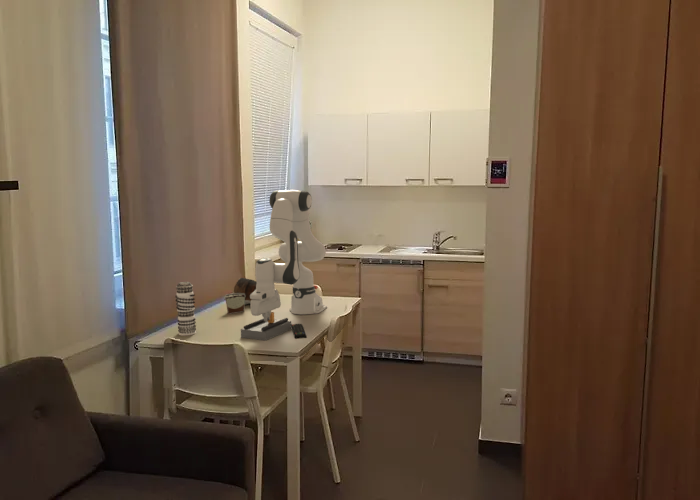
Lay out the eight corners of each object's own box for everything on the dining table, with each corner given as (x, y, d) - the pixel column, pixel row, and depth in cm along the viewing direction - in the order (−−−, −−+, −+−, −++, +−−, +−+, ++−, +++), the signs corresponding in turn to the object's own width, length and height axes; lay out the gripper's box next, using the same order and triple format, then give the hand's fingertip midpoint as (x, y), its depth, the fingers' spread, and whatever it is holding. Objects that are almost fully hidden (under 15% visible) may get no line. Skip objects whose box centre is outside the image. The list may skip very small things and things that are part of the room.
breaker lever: (270, 321, 296) (269, 311, 295) (274, 322, 295) (274, 312, 294) (268, 322, 294) (267, 312, 294) (272, 323, 293) (271, 313, 293)
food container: (242, 309, 345) (241, 291, 344) (246, 311, 340) (245, 293, 339) (221, 312, 339) (220, 294, 338) (225, 314, 334) (224, 296, 332)
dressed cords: (269, 318, 303) (269, 315, 303) (288, 320, 298) (288, 317, 298) (242, 329, 284) (242, 326, 284) (263, 331, 279) (263, 328, 279)
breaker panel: (267, 326, 304) (267, 318, 304) (291, 328, 298) (291, 320, 298) (241, 337, 285) (240, 329, 284) (265, 340, 279) (265, 331, 278)
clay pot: (274, 286, 348) (235, 277, 354) (269, 312, 348) (230, 303, 354) (283, 285, 362) (245, 276, 368) (279, 310, 363) (241, 301, 369)
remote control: (295, 339, 281) (295, 336, 281) (291, 326, 304) (291, 324, 304) (306, 338, 282) (306, 335, 282) (301, 326, 305) (301, 323, 305)
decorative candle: (191, 329, 302) (188, 280, 299) (200, 332, 295) (197, 282, 292) (174, 333, 296) (170, 282, 293) (183, 336, 289) (179, 285, 286)
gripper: (272, 288, 300) (273, 315, 302) (247, 296, 282) (249, 325, 284) (283, 288, 297) (284, 316, 299) (258, 297, 279) (260, 326, 281)
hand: (266, 320), depth 291 cm, fingers closed
